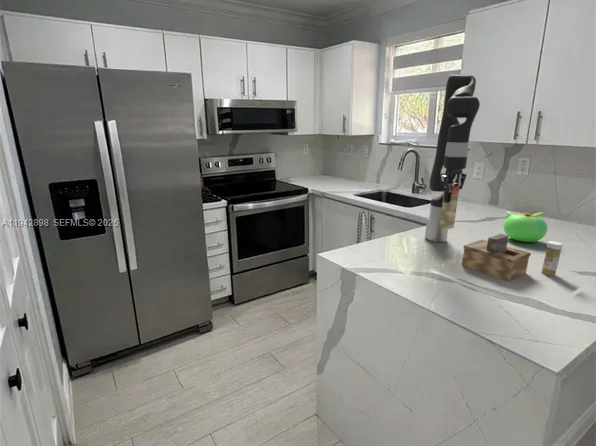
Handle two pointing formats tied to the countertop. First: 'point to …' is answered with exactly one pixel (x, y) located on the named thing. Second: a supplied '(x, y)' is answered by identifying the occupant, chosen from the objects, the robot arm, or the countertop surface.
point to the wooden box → (494, 265)
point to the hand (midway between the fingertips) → (450, 201)
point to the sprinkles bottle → (551, 258)
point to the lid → (497, 249)
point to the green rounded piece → (525, 226)
